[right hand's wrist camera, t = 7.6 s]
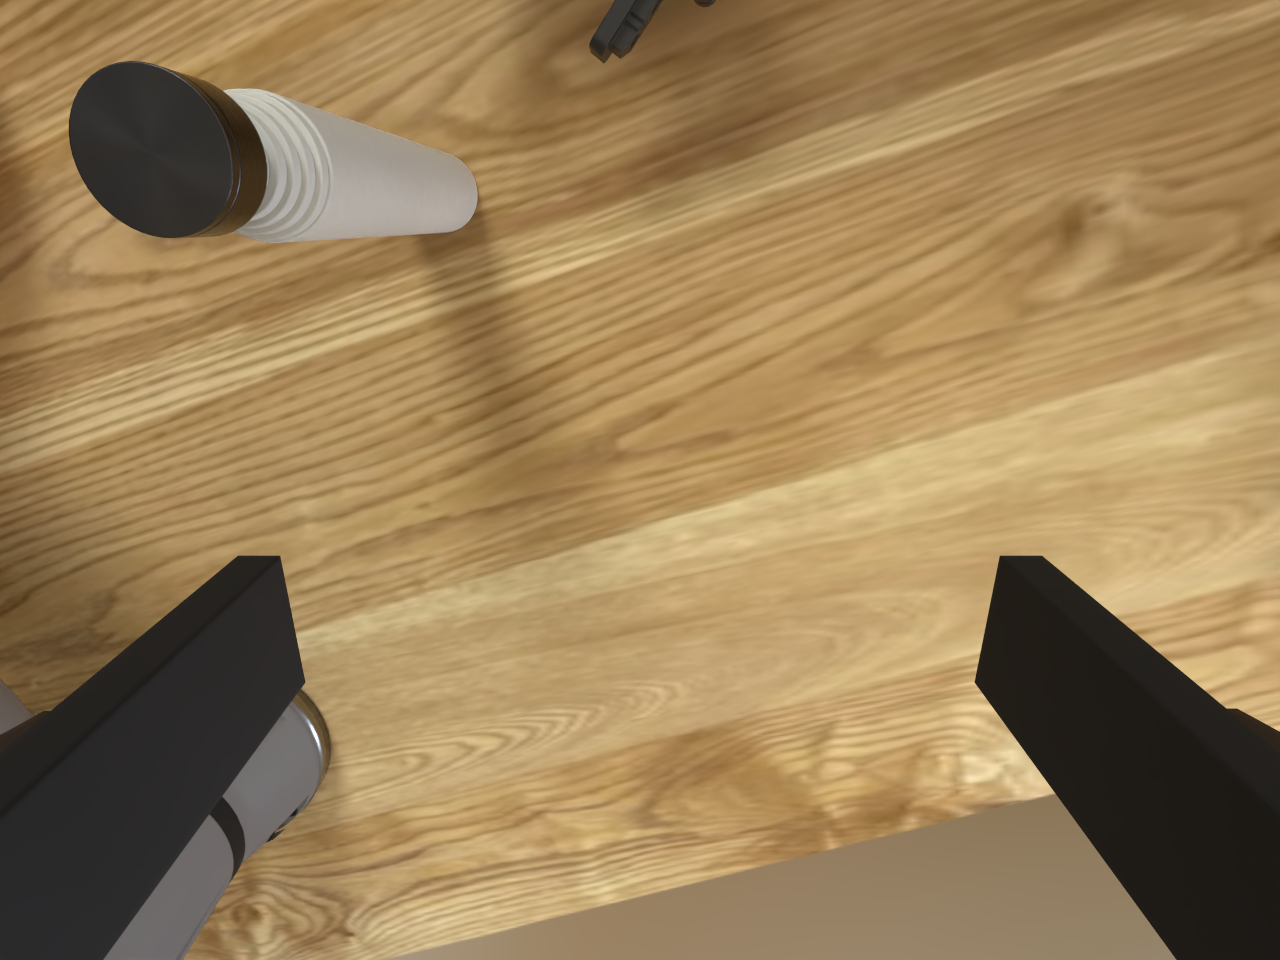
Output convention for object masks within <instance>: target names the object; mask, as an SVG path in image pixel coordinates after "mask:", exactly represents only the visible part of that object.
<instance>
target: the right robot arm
mask: <svg viewBox="0 0 1280 960" xmlns="http://www.w3.org/2000/svg"><path fill="white" fill-rule="evenodd" d="M304 683H305V678H304V673H303V668H302V663H301V658H300V653H299V648H298V643H297V638H296V633H295V628H294V623H293V618H292V613H291V608H290V603H289V598H288V593H287V588H286V583H285V578H284V573H283V568H282V563H281V558H280V556H237V557H236V558H235V559H234V560H232V561H231V562H230V563H229V564H228V565H226V566H225V567H224V568H223V569H222V570H220V571H219V572H218V573H217V574H216V575H214V576H213V577H212V578H211V579H209V580H208V581H207V582H206V583H205V584H203V585H202V586H201V587H200V588H199V589H197V590H196V591H195V592H194V593H193V594H191V595H190V596H189V597H188V598H187V599H185V600H184V601H183V602H182V603H181V604H179V605H178V606H177V607H176V608H175V609H173V610H172V611H171V612H170V613H168V614H167V615H166V616H165V617H164V618H162V619H161V620H160V621H159V622H158V623H156V624H155V625H154V626H153V627H152V628H150V629H149V630H148V631H147V632H146V633H144V634H143V635H142V636H141V637H140V638H138V639H137V640H136V641H135V642H133V643H132V644H131V645H130V646H129V647H127V648H126V649H125V650H124V651H123V652H121V653H120V654H119V655H118V656H117V657H115V658H114V659H113V660H112V661H111V662H109V663H108V664H107V665H106V666H105V667H103V668H102V669H101V670H100V671H99V672H97V673H96V674H95V675H94V676H92V677H91V678H90V679H89V680H88V681H86V682H85V683H84V684H83V685H82V686H80V687H79V688H78V689H77V690H76V691H74V692H73V693H72V694H71V695H70V696H68V697H67V698H66V699H65V700H64V701H62V702H61V703H60V704H59V705H57V706H56V707H55V708H54V709H53V710H51V711H43V712H41V713H39V714H38V715H36V716H34V715H33V714H32V713H31V711H30V710H29V709H28V708H27V707H26V706H25V705H24V704H23V703H22V702H21V701H20V700H19V698H18V697H17V696H16V695H15V694H14V693H13V692H12V691H11V690H10V689H9V688H8V687H7V685H6V684H5V683H4V682H3V681H2V680H1V679H0V960H183V958H184V957H185V955H186V953H187V952H188V950H189V949H190V947H191V945H192V944H193V942H194V940H195V939H196V937H197V936H198V934H199V932H200V931H201V929H202V927H203V926H204V924H205V923H206V921H207V919H208V918H209V916H210V914H211V913H212V911H213V909H214V908H215V906H216V905H217V903H218V901H219V900H220V898H221V896H222V895H223V893H224V892H225V890H226V888H227V887H228V885H229V883H230V882H231V880H232V879H233V877H234V875H235V874H236V872H237V871H238V869H239V867H240V866H241V864H242V863H243V862H244V861H245V860H246V859H247V858H248V857H250V856H251V855H252V854H253V853H254V852H255V851H257V850H258V849H259V848H260V847H261V846H262V845H263V844H264V843H266V842H268V841H271V840H273V839H274V838H275V837H277V836H278V835H279V834H280V833H281V832H282V831H283V830H284V829H283V830H281V831H279V832H276V833H275V831H276V830H278V829H280V828H282V827H283V826H285V825H286V824H288V823H289V822H290V821H291V820H293V819H294V818H295V817H296V816H297V815H298V814H299V813H300V812H301V811H302V810H303V809H304V808H305V807H306V806H307V805H308V804H309V802H310V801H311V799H312V798H313V796H314V794H315V792H316V791H317V789H318V787H319V786H320V784H321V782H322V780H323V779H324V776H325V774H326V772H327V768H328V765H329V759H330V744H329V738H328V733H327V730H326V727H325V724H324V722H323V720H322V718H321V716H320V714H319V713H318V711H317V709H316V708H315V706H314V705H313V704H312V702H311V701H310V700H309V699H308V698H307V696H306V695H305V694H304V693H303V692H302V691H301V690H300V689H301V688H302V686H303V685H304ZM975 683H976V685H977V686H978V688H979V689H980V690H981V692H982V693H983V694H984V696H985V697H986V699H987V700H988V701H989V703H990V704H991V705H992V707H993V708H994V710H995V711H996V712H997V714H998V715H999V716H1000V718H1001V719H1002V721H1003V722H1004V723H1005V725H1006V726H1007V727H1008V729H1009V730H1010V732H1011V733H1012V734H1013V736H1014V737H1015V738H1016V740H1017V741H1018V743H1019V744H1020V745H1021V747H1022V748H1023V749H1024V751H1025V752H1026V754H1027V755H1028V756H1029V758H1030V759H1031V760H1032V762H1033V763H1034V765H1035V766H1036V767H1037V769H1038V770H1039V771H1040V773H1041V774H1042V776H1043V777H1044V778H1045V780H1046V781H1047V782H1048V784H1049V785H1050V786H1051V788H1052V789H1053V791H1054V792H1055V793H1056V795H1057V796H1058V797H1059V799H1060V800H1061V802H1062V803H1063V804H1064V806H1065V807H1066V808H1067V810H1068V811H1069V813H1070V814H1071V815H1072V817H1073V818H1074V819H1075V821H1076V822H1077V824H1078V825H1079V826H1080V828H1081V829H1082V830H1083V832H1084V833H1085V835H1086V836H1087V837H1088V839H1089V840H1090V841H1091V843H1092V844H1093V846H1094V847H1095V848H1096V850H1097V851H1098V852H1099V854H1100V855H1101V857H1102V858H1103V859H1104V861H1105V862H1106V863H1107V865H1108V866H1109V868H1110V869H1111V870H1112V872H1113V873H1114V874H1115V876H1116V877H1117V878H1118V880H1119V881H1120V882H1121V884H1122V885H1123V887H1124V888H1125V889H1126V891H1127V892H1128V894H1129V895H1130V896H1131V898H1132V899H1133V900H1134V902H1135V903H1136V905H1137V906H1138V907H1139V909H1140V910H1141V911H1142V913H1143V914H1144V916H1145V917H1146V918H1147V920H1148V921H1149V922H1150V924H1151V925H1152V927H1153V928H1154V929H1155V931H1156V932H1157V933H1158V935H1159V936H1160V938H1161V939H1162V940H1163V942H1164V943H1165V944H1166V946H1167V947H1168V949H1169V950H1170V951H1171V953H1172V954H1173V955H1174V957H1175V958H1176V959H1177V960H1280V732H1279V731H1277V730H1275V729H1274V728H1272V727H1270V726H1268V725H1266V724H1264V723H1263V722H1261V721H1259V720H1257V719H1255V718H1253V717H1252V716H1250V715H1248V714H1246V713H1244V712H1242V711H1240V710H1239V709H1226V708H1225V707H1224V706H1223V705H1221V704H1220V703H1219V702H1218V701H1216V700H1215V699H1214V698H1213V697H1212V696H1210V695H1209V694H1208V693H1207V692H1206V691H1204V690H1203V689H1202V688H1201V687H1200V686H1198V685H1197V684H1196V683H1195V682H1194V681H1192V680H1191V679H1190V678H1189V677H1188V676H1186V675H1185V674H1184V673H1183V672H1181V671H1180V670H1179V669H1178V668H1177V667H1175V666H1174V665H1173V664H1172V663H1171V662H1169V661H1168V660H1167V659H1166V658H1165V657H1163V656H1162V655H1161V654H1160V653H1159V652H1157V651H1156V650H1155V649H1154V648H1153V647H1151V646H1150V645H1149V644H1148V643H1147V642H1145V641H1144V640H1143V639H1142V638H1140V637H1139V636H1138V635H1137V634H1136V633H1134V632H1133V631H1132V630H1131V629H1130V628H1128V627H1127V626H1126V625H1125V624H1124V623H1122V622H1121V621H1120V620H1119V619H1118V618H1116V617H1115V616H1114V615H1113V614H1112V613H1110V612H1109V611H1108V610H1107V609H1105V608H1104V607H1103V606H1102V605H1101V604H1099V603H1098V602H1097V601H1096V600H1095V599H1093V598H1092V597H1091V596H1090V595H1089V594H1087V593H1086V592H1085V591H1084V590H1083V589H1081V588H1080V587H1079V586H1078V585H1077V584H1075V583H1074V582H1073V581H1072V580H1071V579H1069V578H1068V577H1067V576H1066V575H1064V574H1063V573H1062V572H1061V571H1060V570H1058V569H1057V568H1056V567H1055V566H1054V565H1052V564H1051V563H1050V562H1049V561H1048V560H1046V559H1045V558H1044V557H1043V556H1000V558H999V563H998V568H997V573H996V578H995V583H994V588H993V593H992V598H991V603H990V608H989V613H988V618H987V623H986V628H985V633H984V638H983V643H982V648H981V653H980V658H979V663H978V668H977V673H976V678H975Z"/></svg>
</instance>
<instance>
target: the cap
mask: <svg viewBox="0 0 1280 960" xmlns="http://www.w3.org/2000/svg"><path fill="white" fill-rule="evenodd" d="M69 138H70V146H71V150H72V155H73V158H74V161H75V164H76V167H77V169H78V171H79V173H80V175H81V177H82V179H83V181H84V183H85V184H86V186H87V188H88V189H89V190H90V192H91V193H92V195H93V196H94V197H95V198H96V200H97V201H98V202H99V203H100V204H101V205H102V206H103V207H104V208H105V209H106V210H107V211H108V212H109V213H110V214H111V215H113V216H114V217H115V218H117V219H118V220H120V221H121V222H122V223H124V224H126V225H128V226H129V227H131V228H133V229H135V230H137V231H140V232H142V233H145V234H148V235H152V236H157V237H162V238H188V237H212V236H221V235H225V234H228V233H231V232H233V231H236V230H237V229H239V228H241V227H242V226H244V225H245V224H246V223H247V222H248V221H249V220H250V219H251V218H252V217H253V216H254V215H255V213H256V212H257V210H258V208H259V207H260V205H261V203H262V200H263V198H264V196H265V191H266V186H267V178H268V177H267V168H268V167H267V161H266V155H265V151H264V147H263V144H262V142H261V139H260V136H259V134H258V132H257V130H256V128H255V126H254V125H253V123H252V121H251V120H250V118H249V117H248V115H247V114H246V113H245V112H244V110H243V109H242V108H241V107H240V106H239V105H238V104H237V103H236V102H235V101H234V100H233V99H232V98H231V97H230V96H229V95H227V94H226V93H225V92H224V91H222V90H221V89H219V88H217V87H216V86H214V85H212V84H210V83H208V82H206V81H204V80H201V79H198V78H195V77H192V76H189V75H185V74H182V73H179V72H176V71H173V70H170V69H167V68H163V67H160V66H157V65H154V64H150V63H145V62H135V61H128V62H119V63H115V64H112V65H109V66H106V67H104V68H102V69H100V70H98V71H97V72H96V73H94V74H93V75H91V76H90V77H89V78H88V79H87V80H86V81H85V82H84V84H83V85H82V86H81V88H80V89H79V91H78V93H77V95H76V97H75V99H74V102H73V105H72V108H71V112H70V119H69Z"/></svg>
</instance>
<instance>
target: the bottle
mask: <svg viewBox="0 0 1280 960" xmlns="http://www.w3.org/2000/svg"><path fill="white" fill-rule="evenodd" d="M224 92H225V93H226V94H227V95H229V96H230V97H231V98H232V99H233V100H234V101H235V102H236V103H237V104H238V105H239V106H240V107H241V108H242V109H243V110H244V112H245V113H246V114H247V115H248V117H249V118H250V120H251V121H252V123H253V125H254V126H255V128H256V130H257V132H258V134H259V136H260V139H261V142H262V144H263V147H264V151H265V155H266V161H267V167H268V168H267V177H268V178H267V186H266V191H265V196H264V198H263V200H262V203H261V205H260V207H259V208H258V210H257V212H256V213H255V215H254V216H253V217H252V218H251V219H250V220H249V221H248V222H247V223H246V224H245V225H244V226H242V227H241V228H239V229H237V230H236V231H233V232H235V233H237V234H239V235H241V236H244V237H248V238H251V239H255V240H258V241H263V242H270V243H283V242H299V241H316V240H332V239H349V238H365V237H382V236H399V235H415V234H432V233H447V232H453V231H456V230H458V229H460V228H462V227H463V226H464V225H466V224H467V223H468V222H469V220H470V219H471V218H472V216H473V214H474V212H475V209H476V206H477V200H478V191H477V186H476V182H475V179H474V177H473V175H472V173H471V171H470V170H469V169H468V167H467V166H466V165H465V164H464V163H463V162H462V161H461V160H460V159H458V158H457V157H455V156H453V155H451V154H449V153H446V152H443V151H440V150H437V149H434V148H431V147H429V146H426V145H423V144H420V143H417V142H414V141H411V140H408V139H405V138H402V137H399V136H397V135H394V134H391V133H388V132H385V131H382V130H379V129H376V128H373V127H370V126H368V125H365V124H362V123H359V122H356V121H353V120H350V119H347V118H344V117H341V116H339V115H336V114H333V113H330V112H327V111H324V110H321V109H318V108H315V107H312V106H310V105H307V104H304V103H301V102H298V101H295V100H292V99H289V98H286V97H283V96H281V95H278V94H275V93H272V92H269V91H265V90H260V89H248V88H247V89H229V90H225V91H224Z"/></svg>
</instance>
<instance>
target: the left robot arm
mask: <svg viewBox="0 0 1280 960" xmlns="http://www.w3.org/2000/svg"><path fill="white" fill-rule="evenodd" d="M662 1H663V0H615V2H614V3H613V5H612V6H611V8H610V10H609V11H608V13H607V15H606V16H605V18H604V19H603V21H602V23H601V24H600V26H599V28H598V29H597V31H596V32H595V34H594V36H593V38H592V40H591V42H590V45H589V47H590V50H591V53H592V54H593V55H594V56H596V57H597V58H598V59H599V60H600V61H602V62H603V63H605V62H606V61H607V60H608V58H609V57H610V55H611V54H612V52H613V53H614V54H615V55H616V56H618V57H619V58H620V59H621V58H622V57H624V56H625V55H626V54H628V53H629V52H630V51H631V50H632V48H633V47H634V45H635V44H636V42H637V40H638V39H639V37H640V36H641V34H642V33H643V31H644V29H645V28H646V26H647V25H648V23H649V22H650V20H651V18H652V17H653V15H654V14H655V12H656V11H657V9H658V7H659V6H660V4H661V3H662ZM694 1H695V2H696V3H697V4H698V5H699V6H702V7H708V6H710V5H712V4H713V3H714V2H715V1H716V0H694Z"/></svg>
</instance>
